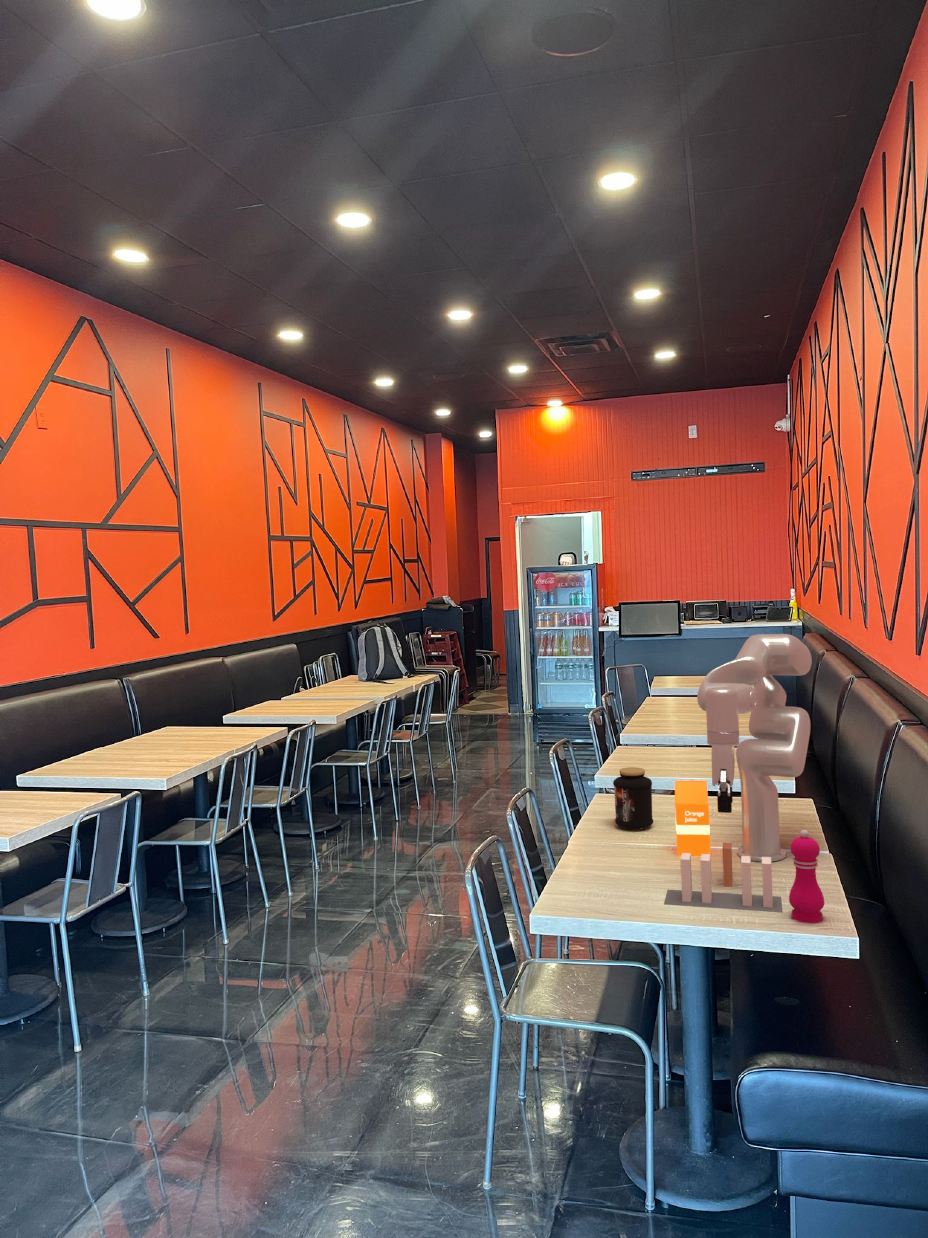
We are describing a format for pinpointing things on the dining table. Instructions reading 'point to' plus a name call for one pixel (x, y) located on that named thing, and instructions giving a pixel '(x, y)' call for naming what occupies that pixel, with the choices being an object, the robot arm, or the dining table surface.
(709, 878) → the domino
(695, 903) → the mat
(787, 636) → the robot arm
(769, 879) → the domino
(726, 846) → the domino
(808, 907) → the pepper mill
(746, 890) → the domino
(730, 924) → the dining table surface
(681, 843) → the orange juice
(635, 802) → the container
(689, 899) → the domino
